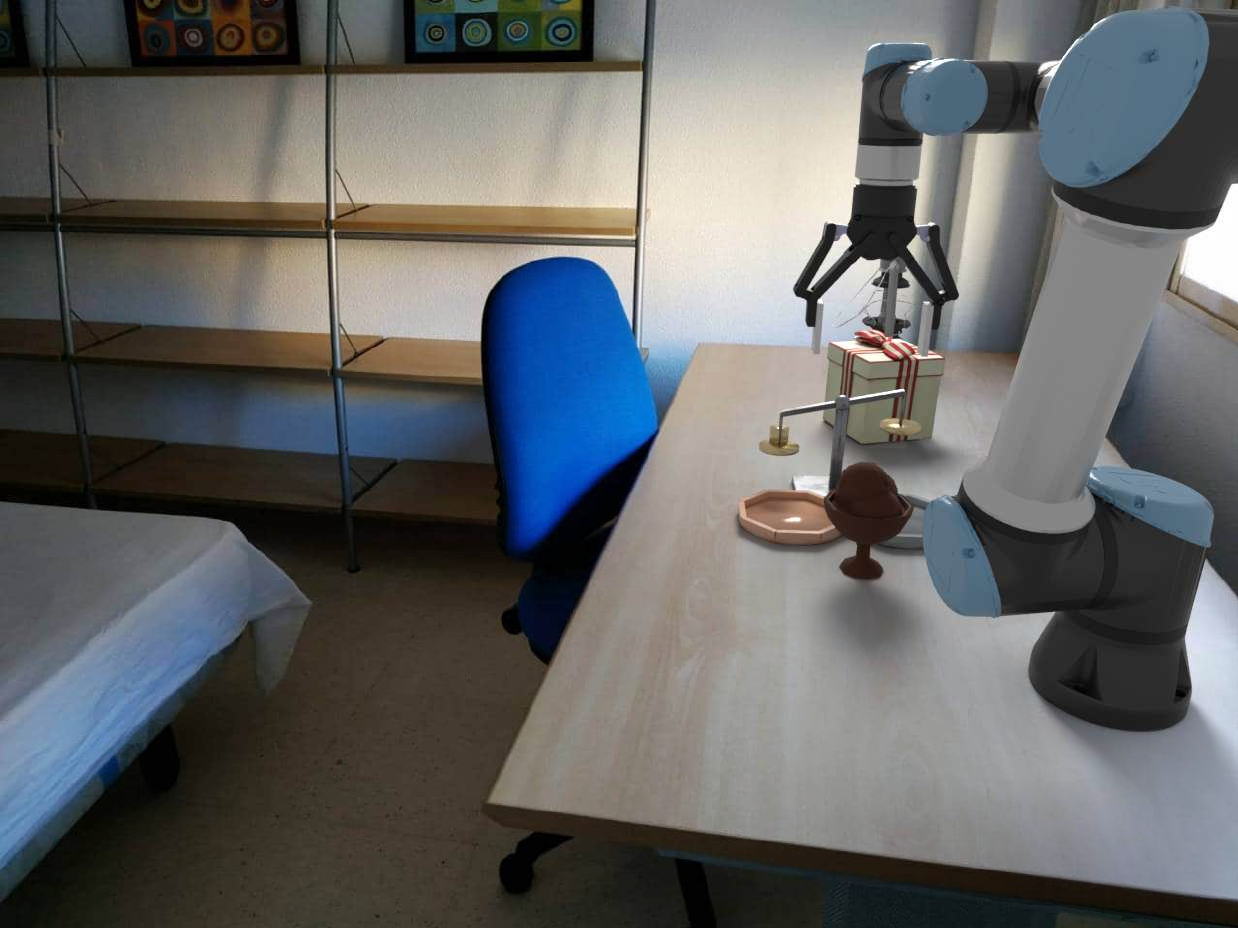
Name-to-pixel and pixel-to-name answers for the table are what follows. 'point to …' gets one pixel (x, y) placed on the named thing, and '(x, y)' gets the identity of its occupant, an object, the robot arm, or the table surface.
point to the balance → (825, 484)
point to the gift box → (883, 384)
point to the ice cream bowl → (866, 514)
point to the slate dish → (911, 526)
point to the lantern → (887, 300)
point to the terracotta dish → (787, 517)
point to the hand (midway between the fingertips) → (868, 353)
